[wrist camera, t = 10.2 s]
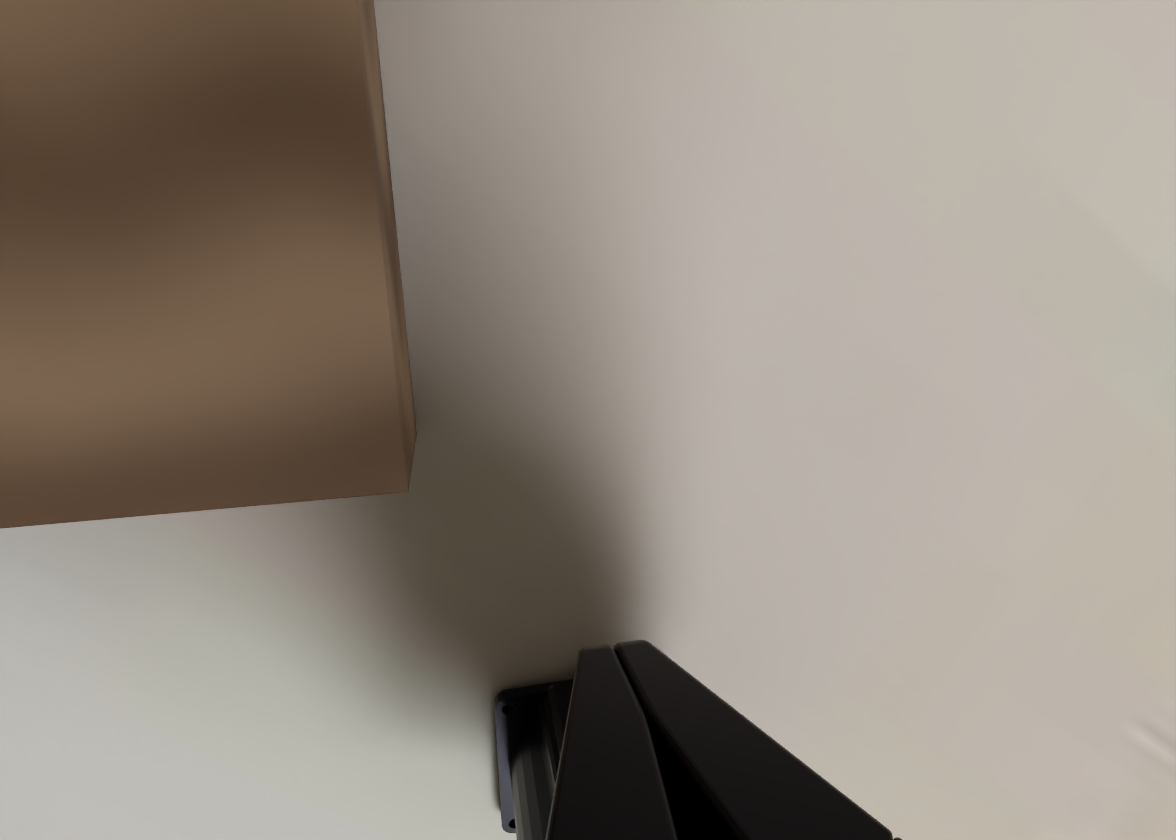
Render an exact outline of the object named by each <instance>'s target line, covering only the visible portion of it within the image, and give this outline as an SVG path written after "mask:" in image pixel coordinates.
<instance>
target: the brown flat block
mask: <svg viewBox="0 0 1176 840" xmlns="http://www.w3.org/2000/svg"><path fill="white" fill-rule="evenodd" d="M416 435H417V434H416V424H415V414H414V404H413V394H412V384H411V374H410V364H409V354H408V344H407V334H406V324H405V313H404V303H403V293H402V283H401V273H400V263H399V253H398V243H397V233H396V223H395V213H394V203H393V193H392V182H391V172H390V162H389V152H388V142H387V132H386V122H385V112H384V102H383V92H382V82H381V72H380V62H379V51H378V41H377V31H376V21H375V11H374V1H373V0H0V528H10V527H22V526H33V525H44V524H55V523H66V522H78V521H89V520H100V519H111V518H123V517H134V516H145V515H156V514H167V513H179V512H190V511H201V510H212V509H224V508H235V507H246V506H257V505H268V504H280V503H291V502H302V501H313V500H325V499H336V498H347V497H358V496H369V495H381V494H392V493H403V492H408V490H409V483H410V476H411V469H412V462H413V456H414V449H415V442H416Z"/></svg>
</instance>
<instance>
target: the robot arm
mask: <svg viewBox="0 0 1176 840" xmlns="http://www.w3.org/2000/svg"><path fill="white" fill-rule="evenodd" d="M508 703H513V704H512V705H511V706H504V705H505V704H508ZM494 713H495V729H496V744H497V759H498V774H499V790H500V805H501V819H502V827H503V830H505V831H506V832H508V833H516V835H517V840H902V839H901V838H898V837H897V838H894V839H893V837H892V833H891V831H890V830H889V829H887V828H886V827H885V826H884V825H882V824H881V823H880V822H878V821H877V820H876V819H875V818H873V817H872V816H871V815H870V814H868V813H867V812H866V811H864V810H863V809H862V808H861V807H859V806H858V805H857V804H855V803H854V802H853V801H852V800H850V799H849V798H848V797H846V796H845V795H844V794H843V793H841V792H840V791H839V790H838V789H836V788H835V787H834V786H832V785H831V784H830V783H829V782H827V781H826V780H825V779H823V778H822V777H821V776H820V775H818V774H817V773H816V772H814V771H813V770H812V769H811V768H809V767H808V766H807V765H806V764H804V763H803V762H802V761H800V760H799V759H798V758H797V757H795V756H794V755H793V754H791V753H790V752H789V751H788V750H786V749H785V748H784V747H783V746H781V745H780V744H779V743H777V742H776V741H775V740H774V739H772V738H771V737H770V736H768V735H767V734H766V733H765V732H763V731H762V730H761V729H759V728H758V727H757V726H756V725H754V724H753V723H752V722H751V721H749V720H748V719H747V718H745V717H744V716H743V715H742V714H740V713H739V712H738V711H736V710H735V709H734V708H733V707H731V706H730V705H729V704H727V703H726V702H725V701H724V700H722V699H721V698H720V697H719V696H717V695H716V694H715V693H713V692H712V691H711V690H710V689H708V688H707V687H706V686H704V685H703V684H702V683H701V682H699V681H698V680H697V679H696V678H694V677H693V676H692V675H690V674H689V673H688V672H687V671H685V670H684V669H683V668H681V667H680V666H679V665H678V664H676V663H675V662H674V661H672V660H671V659H670V658H669V657H667V656H666V655H665V654H664V653H662V652H661V651H660V650H658V649H657V648H656V647H655V646H653V645H652V644H651V643H649V642H648V641H645V640H636V641H629V642H622V643H617V644H616V645H615V646H614V647H611V646H609V645H601V646H594V647H587V648H583V649H581V650H580V651H579V654H578V659H577V664H576V670H575V676H574V679H572V680H565V681H559V682H552V683H546V684H539V685H533V686H526V687H520V688H513V689H507V690H504V691H501V692H500V693H498V694H497V696H496V697H495V699H494Z"/></svg>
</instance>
